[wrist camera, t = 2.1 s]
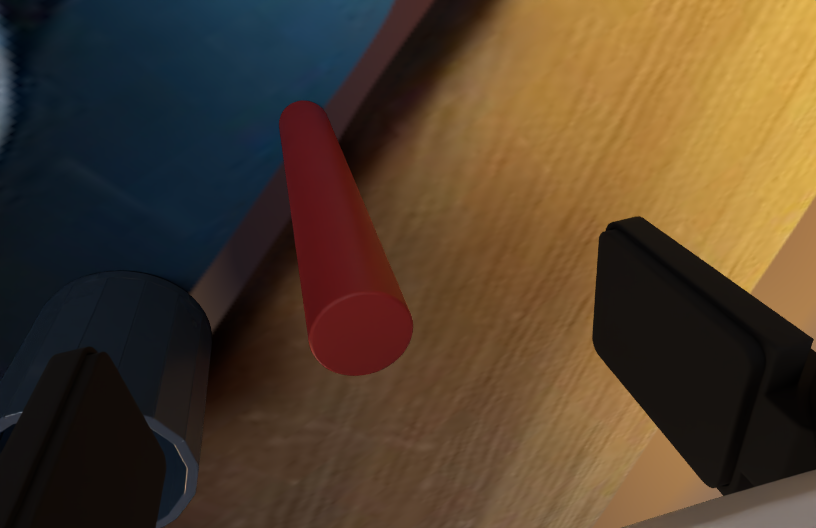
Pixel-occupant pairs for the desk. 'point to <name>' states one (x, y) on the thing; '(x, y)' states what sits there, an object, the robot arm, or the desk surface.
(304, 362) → the desk surface
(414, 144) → the desk surface
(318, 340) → the red cylindrical rod
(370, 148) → the desk surface
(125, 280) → the tumbler
